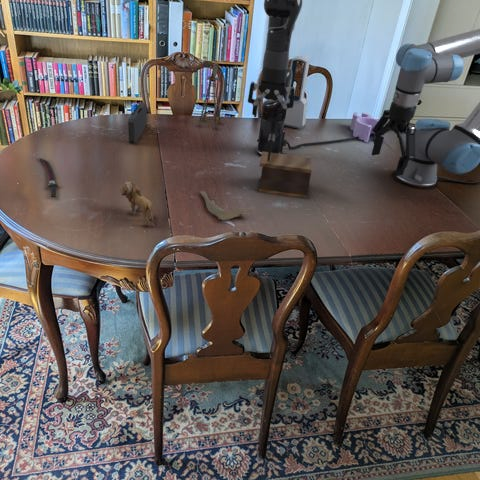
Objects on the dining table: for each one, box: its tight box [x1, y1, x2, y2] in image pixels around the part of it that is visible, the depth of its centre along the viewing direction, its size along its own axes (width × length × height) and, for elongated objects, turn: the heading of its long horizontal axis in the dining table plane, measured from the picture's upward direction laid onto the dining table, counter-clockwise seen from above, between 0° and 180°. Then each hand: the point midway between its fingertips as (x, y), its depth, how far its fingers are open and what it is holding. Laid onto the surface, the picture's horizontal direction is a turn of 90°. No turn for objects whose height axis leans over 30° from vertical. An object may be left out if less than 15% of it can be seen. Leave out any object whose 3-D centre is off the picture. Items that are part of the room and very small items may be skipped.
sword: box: [40, 158, 59, 198], centre depth 151 cm, size 31×3×1 cm, turn 26°
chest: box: [258, 167, 312, 199], centre depth 158 cm, size 16×10×9 cm, turn 83°
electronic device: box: [284, 55, 311, 130], centre depth 209 cm, size 12×8×30 cm, turn 71°
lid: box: [259, 134, 313, 174], centre depth 154 cm, size 17×10×9 cm, turn 83°
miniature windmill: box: [198, 54, 222, 130], centre depth 199 cm, size 9×8×30 cm
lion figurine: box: [119, 181, 159, 227], centre depth 134 cm, size 15×5×9 cm, turn 50°
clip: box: [349, 112, 385, 143], centre depth 214 cm, size 20×12×7 cm, turn 11°
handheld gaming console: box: [127, 102, 148, 144], centre depth 187 cm, size 23×3×10 cm, turn 178°
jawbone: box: [199, 190, 251, 222], centre depth 143 cm, size 9×20×2 cm, turn 50°
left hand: (268, 118), depth 149 cm, fingers open, 8 cm apart
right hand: (386, 164), depth 155 cm, fingers open, 13 cm apart
